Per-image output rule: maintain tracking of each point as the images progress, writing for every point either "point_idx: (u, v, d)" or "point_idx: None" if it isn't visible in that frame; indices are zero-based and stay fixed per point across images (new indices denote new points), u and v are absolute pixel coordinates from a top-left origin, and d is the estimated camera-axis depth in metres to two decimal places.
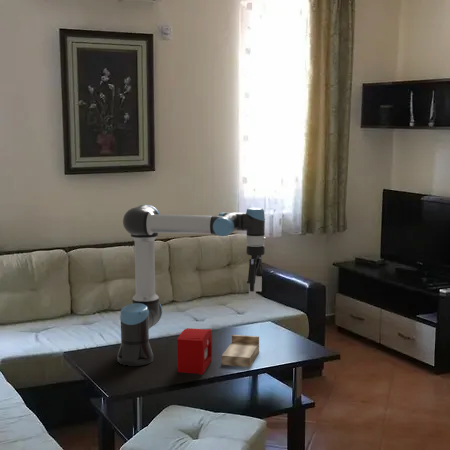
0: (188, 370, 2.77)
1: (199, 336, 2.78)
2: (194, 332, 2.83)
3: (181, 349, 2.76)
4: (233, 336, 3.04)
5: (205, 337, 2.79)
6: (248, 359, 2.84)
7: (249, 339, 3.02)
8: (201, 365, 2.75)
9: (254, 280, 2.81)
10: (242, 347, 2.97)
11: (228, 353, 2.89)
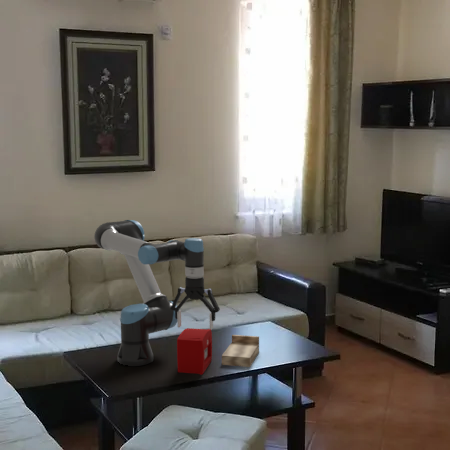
0: (188, 370, 2.77)
1: (199, 336, 2.78)
2: (194, 332, 2.83)
3: (181, 349, 2.76)
4: (233, 336, 3.04)
5: (205, 337, 2.79)
6: (248, 359, 2.84)
7: (249, 339, 3.02)
8: (201, 365, 2.75)
9: (175, 308, 2.82)
10: (242, 347, 2.97)
11: (228, 353, 2.89)
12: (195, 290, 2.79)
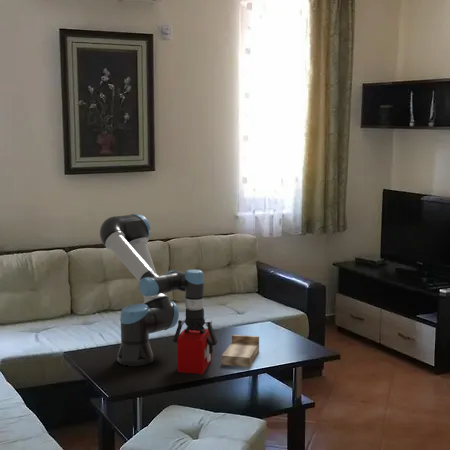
0: (188, 370, 2.77)
1: (199, 336, 2.78)
2: (194, 332, 2.83)
3: (181, 349, 2.76)
4: (233, 336, 3.04)
5: (205, 337, 2.79)
6: (248, 359, 2.84)
7: (249, 339, 3.02)
8: (201, 365, 2.75)
9: None
10: (242, 347, 2.97)
11: (228, 353, 2.89)
12: (195, 321, 2.80)
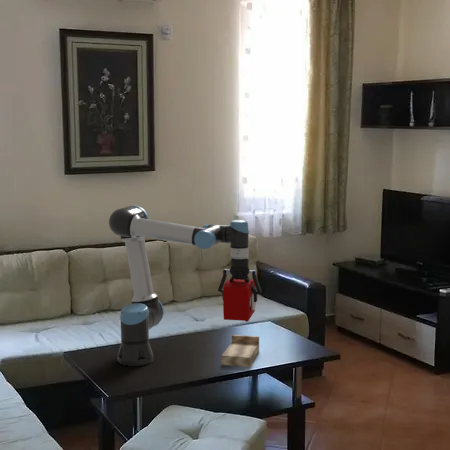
0: (234, 317, 2.83)
1: (244, 284, 2.84)
2: (238, 281, 2.89)
3: (227, 296, 2.82)
4: (233, 336, 3.04)
5: (250, 285, 2.85)
6: (248, 359, 2.84)
7: (249, 339, 3.02)
8: (247, 312, 2.81)
9: None
10: (242, 347, 2.97)
11: (228, 353, 2.89)
12: (240, 270, 2.87)
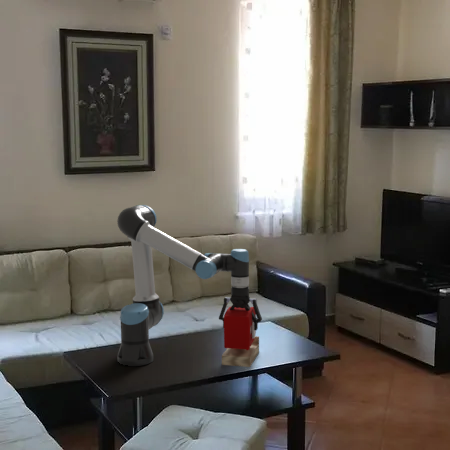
0: (235, 346, 2.85)
1: (245, 313, 2.86)
2: (239, 309, 2.91)
3: (227, 325, 2.84)
4: None
5: (250, 314, 2.87)
6: (248, 359, 2.84)
7: None
8: (247, 341, 2.83)
9: (223, 318, 2.92)
10: None
11: (228, 353, 2.89)
12: (241, 298, 2.89)
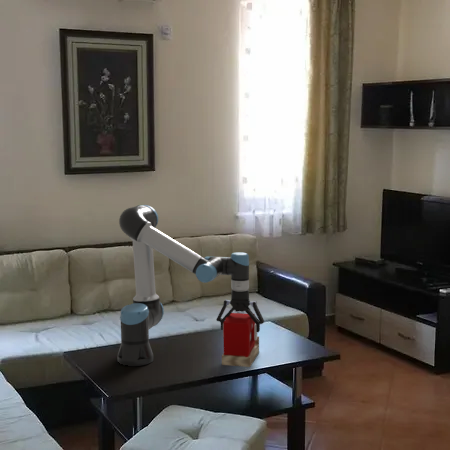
0: (234, 352, 2.86)
1: (244, 320, 2.86)
2: (239, 316, 2.91)
3: (227, 332, 2.85)
4: None
5: (250, 321, 2.87)
6: (248, 359, 2.84)
7: None
8: (247, 348, 2.84)
9: (221, 319, 2.92)
10: None
11: None
12: (241, 302, 2.89)
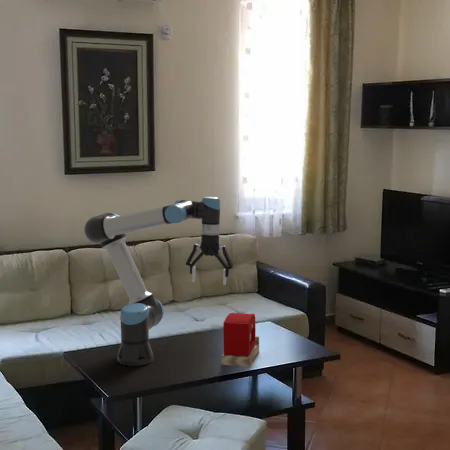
0: (234, 352, 2.86)
1: (244, 320, 2.86)
2: (239, 316, 2.91)
3: (227, 332, 2.85)
4: None
5: (250, 321, 2.87)
6: (248, 359, 2.84)
7: None
8: (247, 348, 2.84)
9: (190, 263, 2.92)
10: None
11: None
12: (210, 247, 2.89)
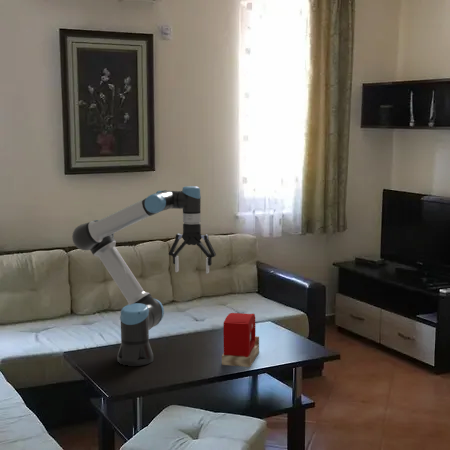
0: (234, 352, 2.86)
1: (244, 320, 2.86)
2: (239, 316, 2.91)
3: (227, 332, 2.85)
4: None
5: (250, 321, 2.87)
6: (248, 359, 2.84)
7: None
8: (247, 348, 2.84)
9: (173, 253, 2.94)
10: None
11: None
12: (192, 236, 2.91)
